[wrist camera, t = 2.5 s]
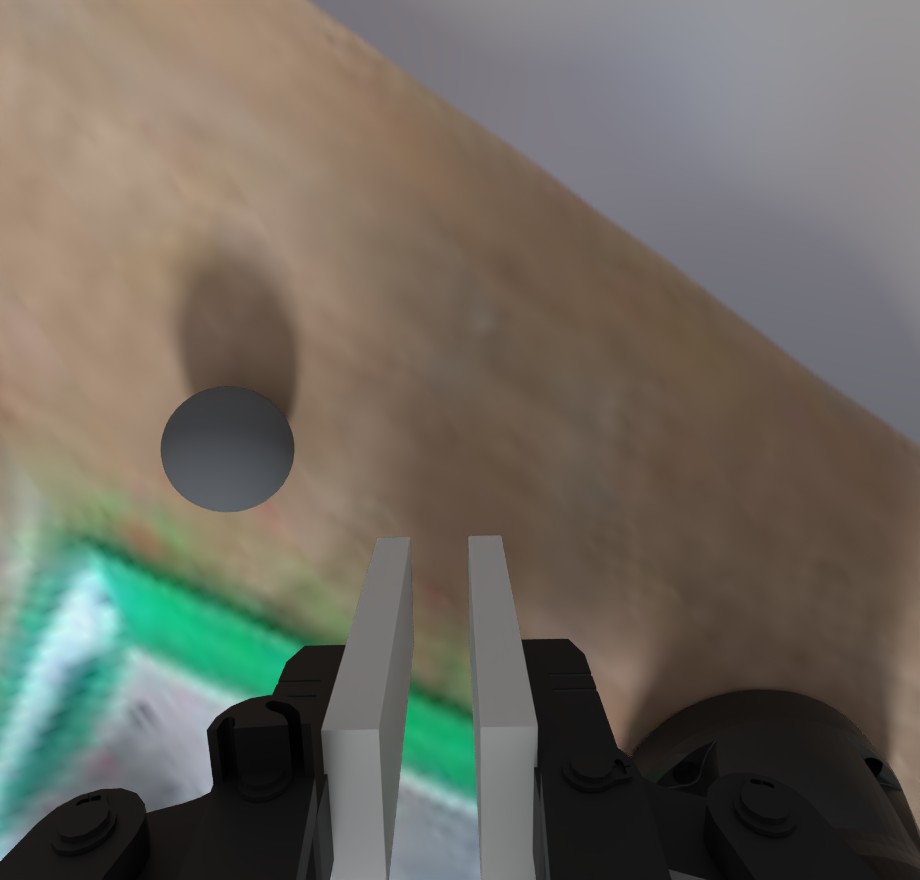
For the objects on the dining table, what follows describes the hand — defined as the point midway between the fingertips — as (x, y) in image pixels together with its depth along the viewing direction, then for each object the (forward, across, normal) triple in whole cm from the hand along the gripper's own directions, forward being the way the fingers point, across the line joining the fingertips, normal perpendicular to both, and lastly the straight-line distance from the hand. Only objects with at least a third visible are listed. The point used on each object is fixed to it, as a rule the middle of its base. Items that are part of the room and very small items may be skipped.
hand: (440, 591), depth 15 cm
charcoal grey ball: (+14, +10, 0) cm, 17 cm away
